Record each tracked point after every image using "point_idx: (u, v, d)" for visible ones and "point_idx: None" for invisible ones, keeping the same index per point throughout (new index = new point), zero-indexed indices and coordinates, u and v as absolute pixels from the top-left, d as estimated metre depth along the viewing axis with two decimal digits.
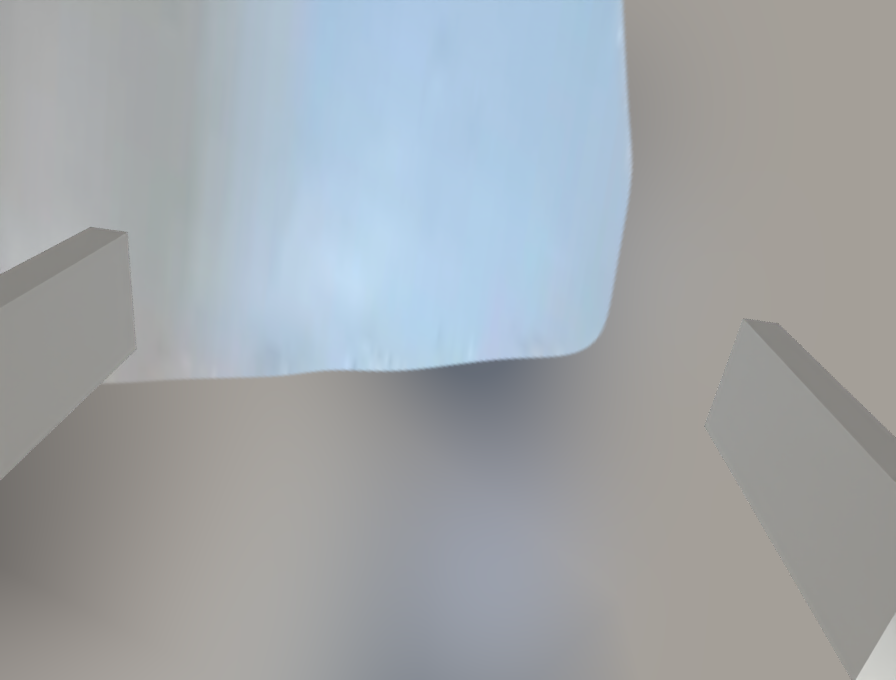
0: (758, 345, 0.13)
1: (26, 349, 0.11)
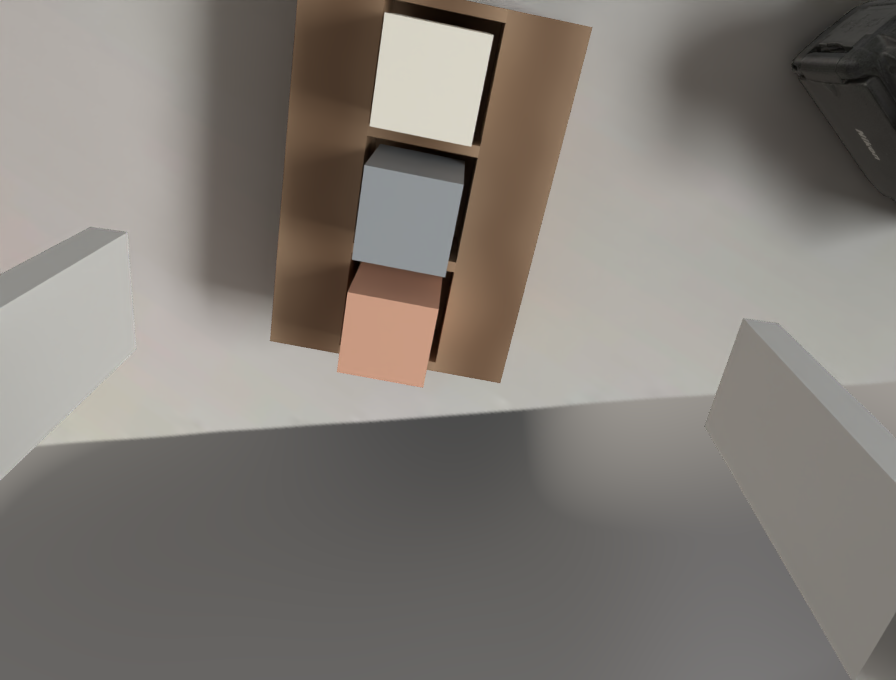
0: (758, 345, 0.13)
1: (26, 349, 0.11)
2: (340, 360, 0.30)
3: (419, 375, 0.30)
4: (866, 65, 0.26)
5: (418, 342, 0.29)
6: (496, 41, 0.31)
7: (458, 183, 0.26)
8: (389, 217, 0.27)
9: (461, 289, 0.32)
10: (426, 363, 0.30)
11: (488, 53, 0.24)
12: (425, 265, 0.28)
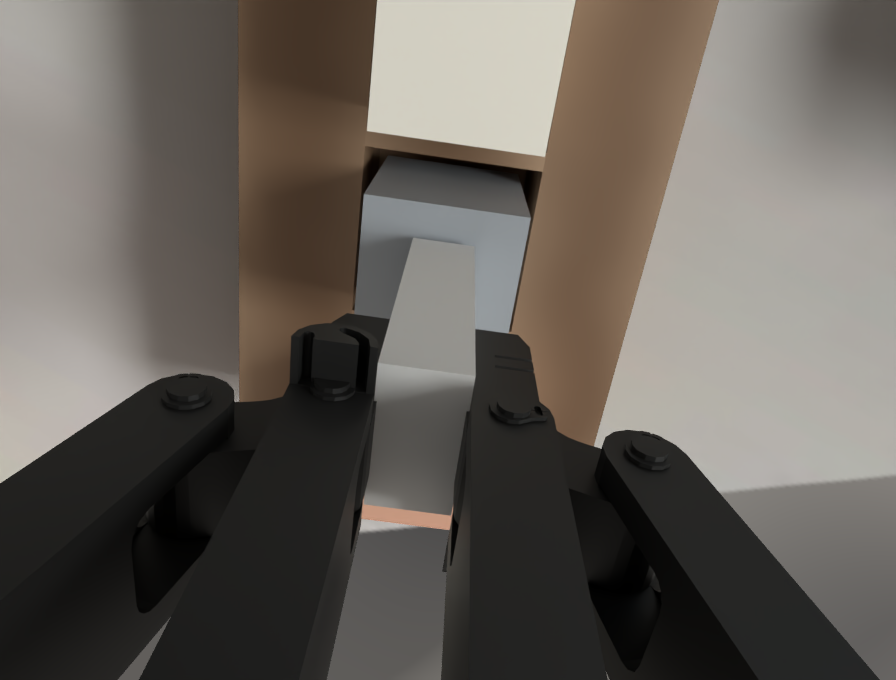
0: None
1: None
2: None
3: None
4: None
5: None
6: None
7: (521, 216, 0.16)
8: None
9: None
10: None
11: None
12: None
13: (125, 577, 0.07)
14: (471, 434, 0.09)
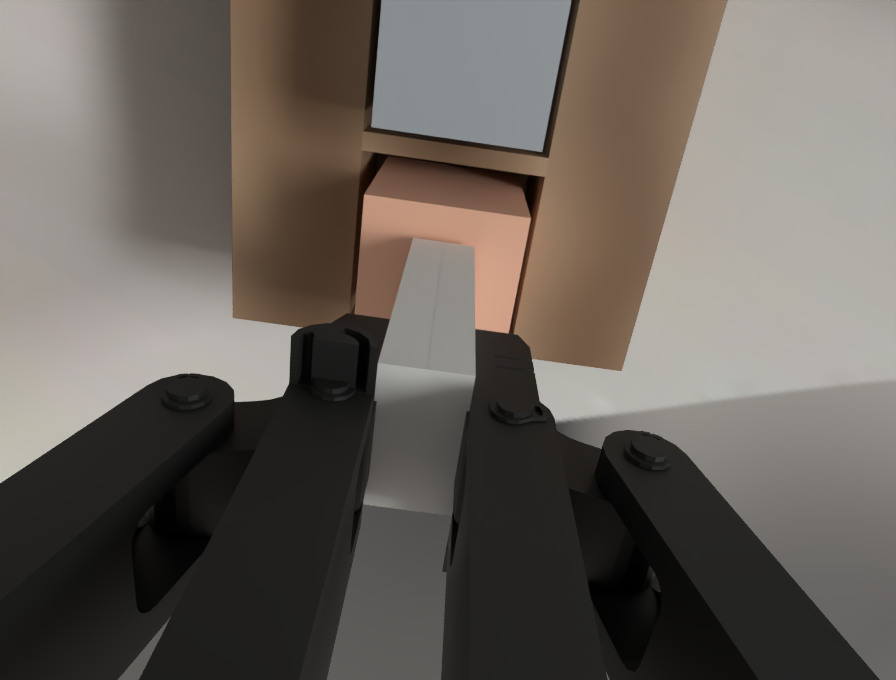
0: None
1: None
2: None
3: None
4: None
5: (493, 283, 0.16)
6: None
7: None
8: (438, 36, 0.14)
9: (557, 209, 0.18)
10: (508, 321, 0.17)
11: None
12: (506, 130, 0.15)
13: (124, 577, 0.07)
14: (471, 434, 0.09)
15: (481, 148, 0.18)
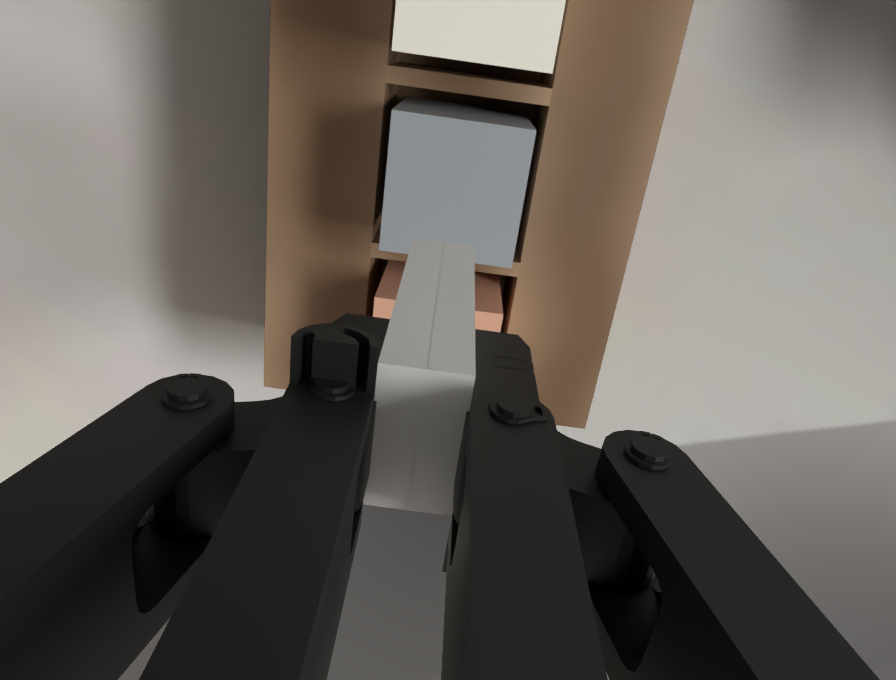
0: None
1: None
2: None
3: None
4: None
5: None
6: None
7: (528, 129, 0.18)
8: (430, 185, 0.19)
9: (528, 301, 0.23)
10: None
11: None
12: (483, 252, 0.20)
13: (125, 577, 0.07)
14: (471, 434, 0.09)
15: None
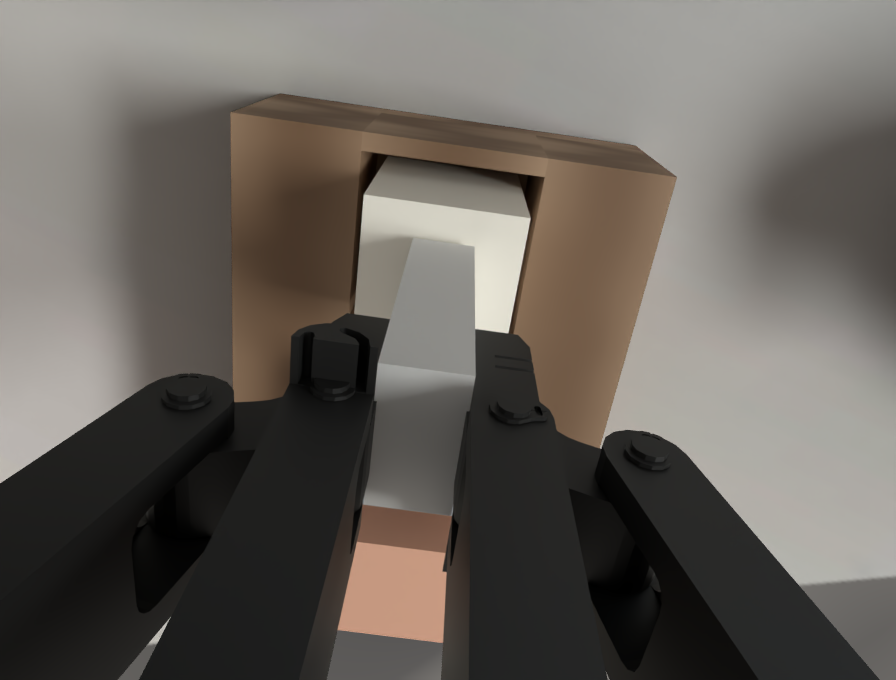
0: None
1: None
2: None
3: (442, 630, 0.22)
4: None
5: (437, 593, 0.22)
6: (525, 175, 0.22)
7: None
8: None
9: None
10: None
11: (523, 242, 0.16)
12: None
13: (124, 577, 0.07)
14: (471, 434, 0.09)
15: None
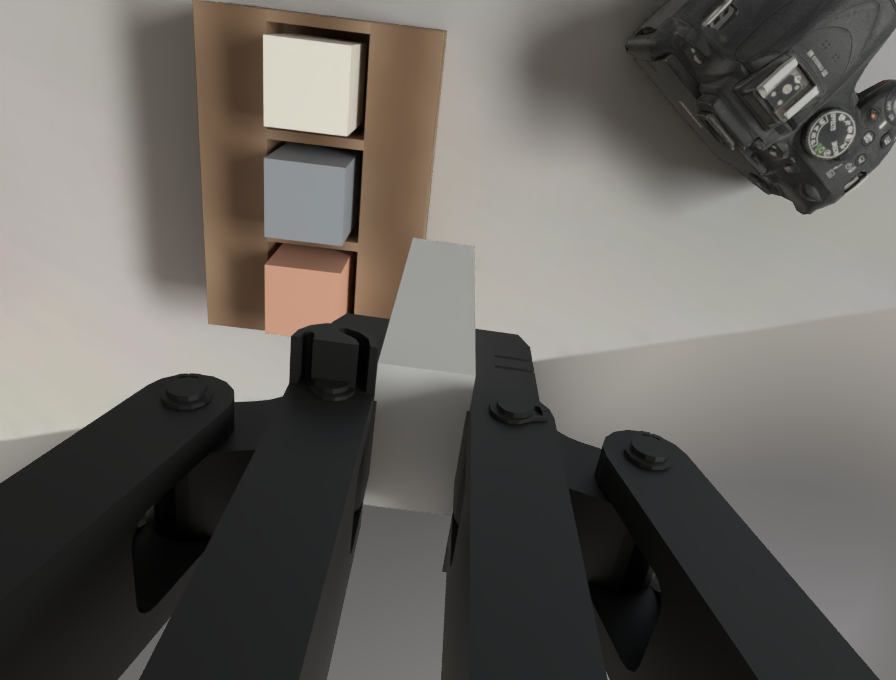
0: None
1: None
2: (266, 323, 0.36)
3: None
4: (663, 43, 0.31)
5: (328, 303, 0.35)
6: None
7: (341, 167, 0.32)
8: (290, 199, 0.33)
9: (366, 266, 0.37)
10: None
11: (349, 60, 0.30)
12: (324, 237, 0.34)
13: (125, 577, 0.07)
14: (471, 434, 0.09)
15: None
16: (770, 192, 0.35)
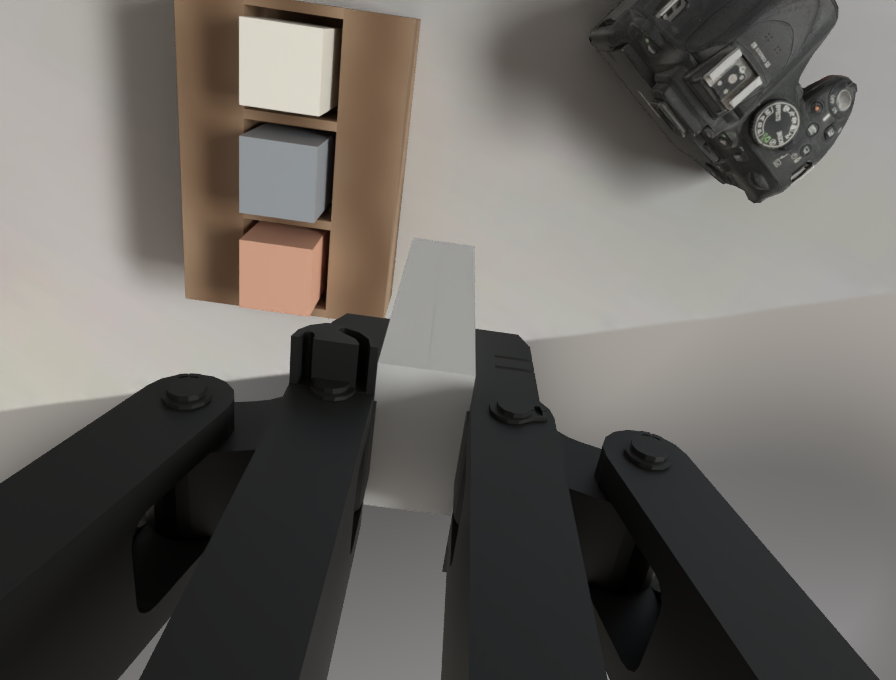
0: None
1: None
2: (240, 297, 0.37)
3: (305, 306, 0.37)
4: (620, 34, 0.32)
5: (300, 278, 0.37)
6: None
7: (313, 146, 0.34)
8: (264, 176, 0.34)
9: (338, 245, 0.38)
10: (309, 295, 0.37)
11: (321, 42, 0.32)
12: (297, 214, 0.35)
13: (124, 577, 0.07)
14: (471, 434, 0.09)
15: None
16: (724, 181, 0.37)
